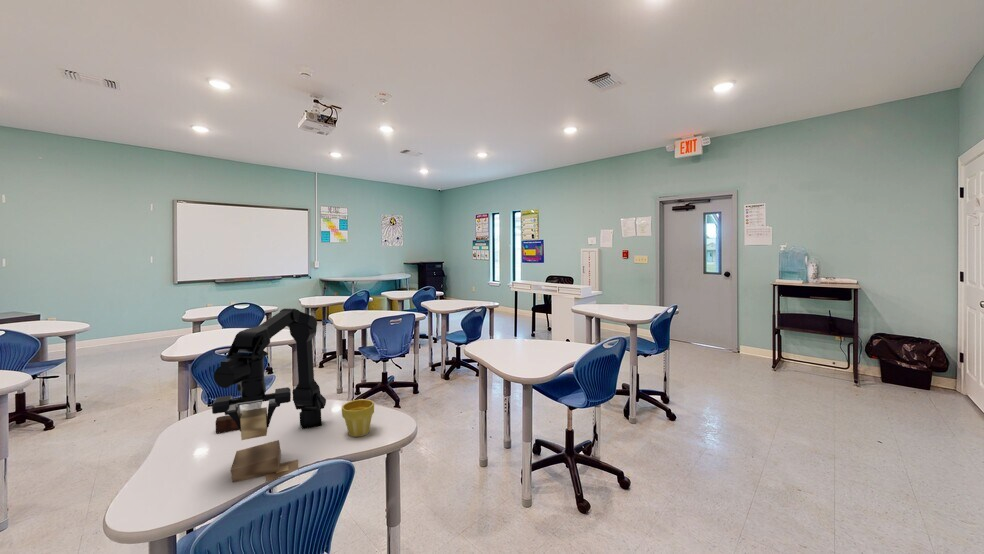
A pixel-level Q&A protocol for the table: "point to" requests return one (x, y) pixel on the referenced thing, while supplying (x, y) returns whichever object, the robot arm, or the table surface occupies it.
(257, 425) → the oak cube
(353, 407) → the plant pot
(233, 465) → the tan flat square block
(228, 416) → the brick
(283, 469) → the swatch
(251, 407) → the white lumpy chunk
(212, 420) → the table surface
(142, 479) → the table surface
